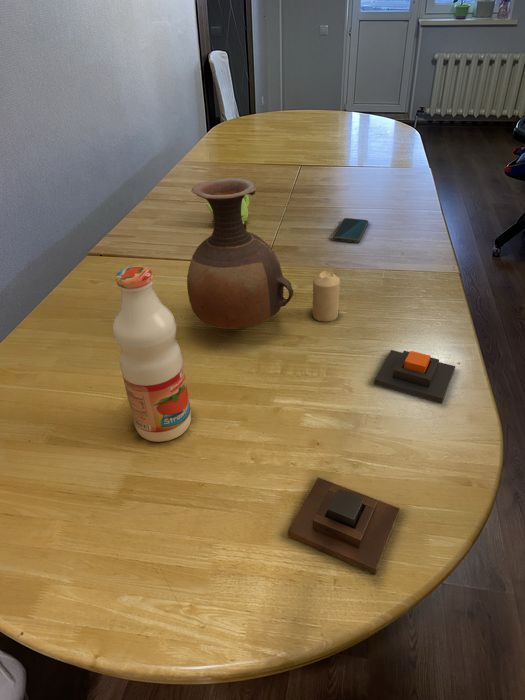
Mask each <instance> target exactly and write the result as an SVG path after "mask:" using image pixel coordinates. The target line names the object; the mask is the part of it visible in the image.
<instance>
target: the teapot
mask: <svg viewBox="0 0 525 700" xmlns="http://www.w3.org/2000/svg"><path fill="white" fill-rule="evenodd" d="M250 204H251V202H250V197H249V194H247V195H244V197H243V200H242V204H241V217H242V222H243V224H245V222H246V221H247V220H248V217H249V210H248V209H249V208H248V206H249V205H250ZM205 205H206V207H207V208H208V210H209V212H210V214H211V216H212V219H214V217H213V211H212V208H211V206H210V204H209V202H207V203H206V204H205Z"/></svg>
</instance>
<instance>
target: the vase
mask: <svg viewBox="0 0 525 700" xmlns="http://www.w3.org/2000/svg"><path fill="white" fill-rule="evenodd" d="M257 189H258V186H257V183H256V182H255V181H254V180H251V179H248V178H242V177H225V178H217V179H209V180H207V181H202V182H199V183H197V184H195V185H194V186H193V187H192V188H191V192H192V194H194V195H196V197H200V198H201V199H204V200H206V201H207V203H209V204H210V206H211V208H212V211H213V217H214V218H213V217H212V218H213V231H212V233H211V235H210V236H208V237H207V238H206V239H205V240H203V241H202V242H201V243H200V244H199V245H198V246H197V247H196V249H195V251H194V252H193V254H192V256H191V260H190V262H189V265H188V266H189V267H188V271H187V276H186V286H187V288H186V289H187V294H188V295H187V296H188V301H189V304H190V307H191V310H192V312H193V314H194V316H196V318H197V319H198V320H199V321H200V322H201V323H203V324H204V325H207V326H210V327H214V328H217V329H226V330H227V329H228V330H243V329H247V328H252V327H256V326H258V325H261V324H263V323H265V322H267V321H269V320H271V319H272V318H273V317H275V316H276V315H277V314H278V313H279V312H280V311H281V308H283V307H285V306H286V305H287V304H288V303H289V302H290V301H291V300H292V298H293V296H294V290H293V286H292V283H291V282H290V281H289V280H288V279H287V278H286V277H284V275H283V271H282V266H281V263H280V261H279V259H278V257H277V255H276V253H275V252H274V251H273V249H272V248H271V246H270V245H269V244H268V243H267V242H266V241H265V240H264V239H263V238H261V237H260V236H258V235H256V234H255V233H253V232H250V231H247V224H245V223H244V224H243V222H242V217H241V204H242V200H243V197H244V195H247V194H248V195H250V196H254V195H255V194H256V191H257ZM284 288H285V289H286V290H287V291H288V297H287V298H285V297H284V292H285V291H284V290H285V289H284Z"/></svg>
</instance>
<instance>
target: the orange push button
mask: <svg viewBox="0 0 525 700" xmlns="http://www.w3.org/2000/svg"><path fill="white" fill-rule="evenodd" d="M409 352H410V351H407V350H403V351H397V350H393V349H390V351H389V353H388V354H387V357H386V358H385V359H384V361H383V364H381V367H380V369H379V370H378V372H377V374H376V375H375V377H374V379H373V385H376V386H379V387H383V388H387V389H390V390H394V391H396V392H400V393H404V394H407V395H410V396H414V397H417V398H421V399H425V400H429V401H432V402H435V403H439V404H443V402H444V399H445V396H446V394H447V391H448V389H449V386H450V384H451V381H452V378H453V376H454V374H455V370H456V366H455V365H453V364H448V363H445V362H441V361H440V359H439V358H435V357H432V356H430V361H429V365H428V367H427V369H426V371H425V373H424V374H423V373H419V372H415V371H412V370H408V369H404V364H405V360H406V358H407V356H408V354H409Z"/></svg>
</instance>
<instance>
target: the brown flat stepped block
mask: <svg viewBox="0 0 525 700" xmlns="http://www.w3.org/2000/svg"><path fill="white" fill-rule="evenodd" d="M338 489H339V490H341V491H344V492H347V493H349V494H352V495H354V496H357V497H360V498H362V499H364V502H363V508H362V510H361V513H360V515H359V517H358V519H357V521H356V523H355V526H354V528H352V527H349V526H347V525H345V524H342V523H340V522H337V521H335V520H332V519H330V518H328V517H327V514H328V508H329V506H330V504H331V502H332V500H333V498H334V496H335V494H336V492H337V490H338ZM400 510H401V508H400V507H397V506H396V505H392V504H389V503H387V502H384V501H383V500H382V501H381V500H379V499H377V498H374V497H371V496H368V495H366V494H363V493H361V492H358V491H356V490H353V489H350V488H347V487H345V486H342V485H340V484H338V483H334V482H332V481H329V480H327V479H324V478H321V477H317V479H316V480H315V482H314V483H313V485H312V487H311V489H310V490H309V492H308V493H307V495H306V497H305V499H304V501H303V502H302V504H301V506H300V508H299V510H298V512H297V513H296V515H295V516H294V519H293V520H292V522H291V524H290V526H289V527H288V529H287V537H289V538H291V539H294V540H296V541H298V542H301V543H303V544H305V545H307V546H309V547H311V548H314V549H316V550H318V551H321V552H323V553H325V554H327V555H329V556H332V557H335V558H336V559H339V560H341V561H343V562H346V563H348V564H350V565H352V566H354V567H357V568H360V569H361V570H364V571H366V572H368V573H370V574H373V575H376V574H377V571H378V569H379V567H380V564H381V561H382V559H383V556H384V554H385V551H386V548H387V546H388V543H389V542H390V541H389V540H390V538H391V535H392V533H393V531H394V528H395V525H396V523H397V520H398V518H399V514H400Z"/></svg>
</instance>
